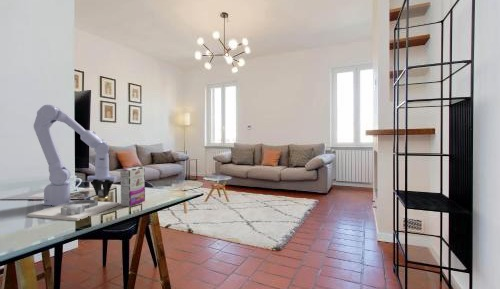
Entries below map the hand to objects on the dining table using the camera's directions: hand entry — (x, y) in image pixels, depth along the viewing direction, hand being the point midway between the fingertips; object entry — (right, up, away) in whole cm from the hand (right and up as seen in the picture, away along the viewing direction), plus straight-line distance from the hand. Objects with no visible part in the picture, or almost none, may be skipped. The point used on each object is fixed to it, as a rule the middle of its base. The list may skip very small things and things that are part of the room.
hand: (102, 195), depth 122 cm
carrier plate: (0, -3, -17) cm, 17 cm away
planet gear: (0, -2, 0) cm, 2 cm away
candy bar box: (+17, -3, -5) cm, 18 cm away
